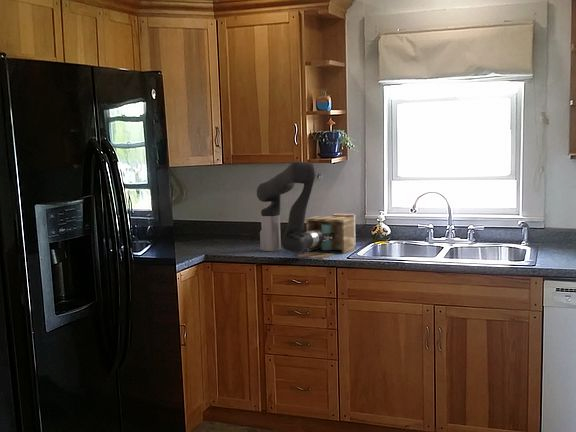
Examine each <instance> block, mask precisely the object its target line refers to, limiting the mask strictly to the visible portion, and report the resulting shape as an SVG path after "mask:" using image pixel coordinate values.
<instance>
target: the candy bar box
mask: <svg viewBox="0 0 576 432" xmlns="http://www.w3.org/2000/svg"><path fill="white" fill-rule="evenodd" d="M331 217H354V248H355V247H356V245H357V244H356V243H357V242H356V240H357V238H356V236H357V235H356V213H333V214H332V215H331Z"/></svg>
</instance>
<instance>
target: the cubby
mask: <svg viewBox="0 0 576 432" xmlns="http://www.w3.org/2000/svg"><path fill="white" fill-rule="evenodd" d="M305 218H306V217H305ZM322 224H331V225H332V233H335V237H334V239H333V240H332V250H338V251H341V254H343V255H344V254H347V253H350V252H353V251H355V247H354V217H332V216H328V215H327V216H325V215H315V216H310V217H307V218H306V232H308V231H312V230H318V231H320V232H322V227H321V225H322ZM318 249H322V243H321V244H320V245H318V246H315V247H311V248H306V251H307V252H312V251H314V250H318Z"/></svg>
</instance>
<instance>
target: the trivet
mask: <svg viewBox="0 0 576 432" xmlns="http://www.w3.org/2000/svg"><path fill="white" fill-rule="evenodd" d="M334 255H335V253H330V252H329V253H327V252H314V251H307V252H304V253H303V252H302V253H301V254H297V255H295V258H296V257H297V258H311V259H321V260H322V259H326V258H328V257H333V256H334Z"/></svg>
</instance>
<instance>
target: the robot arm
mask: <svg viewBox="0 0 576 432" xmlns="http://www.w3.org/2000/svg"><path fill="white" fill-rule="evenodd" d="M315 178H316V167H315V165H314V163H311V162H303V161H293V162H291V163H290V164H289V165H288V166H287V167H286V168H285V169H284V170H282V172H280V173H278V174H277V175H275V176H274V177H272V178H270V179H269V180H268V181H265V182H262V183H259V185H258V187H257V188H256V197H257V199H258V200H259V201H260V202H263V203H269V202H270V204H269V205H268V206H267V207H265V208H263V209H261V210H260V216H261V217H260V219H261V222H260V223H261V230H260V231H259V240H260V241H259V242H260V243H259V245H260V246H259V247H260V249H259V250H260V251H263V252H277V251H281V250H282V249H283V250H285V251H289V252H294V253H296V254H298V253H303V252H304V251H305V250H307V248H311V247H315V246H318V245H320V244H321V243H322V241H324V240H328V239H329V240H330V241H331V240H333V239H334V237H335V233H322V232H320V231H318V230H312V231H308V232H307V231H305V232H302V231H303V230H304V227H305V221H306V220H305V218H306V212H307V209H308V208H307V207H308V203H309V200H310V197H311V193H312V190H313V187H314V186H313V185H314V182H315ZM295 184H303V188H302V190H301V193H300V195H299V196H298V198H297V199H296V200H295V201H294V203H293V204H292V206H291V207H290V209H289V210H290V211H289V213H288V214H289V215H288V221H287V226H286V229H285V231H284V234H283V236H282V239H281V214H280V213H281V198H282V197H281V196H282V195H284V194H288V192H290V191H292V189H293V188H294V187H295ZM295 232H302V233H298V234H297V235H294V233H295ZM328 235H329V236H328ZM281 248H282V249H281Z"/></svg>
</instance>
